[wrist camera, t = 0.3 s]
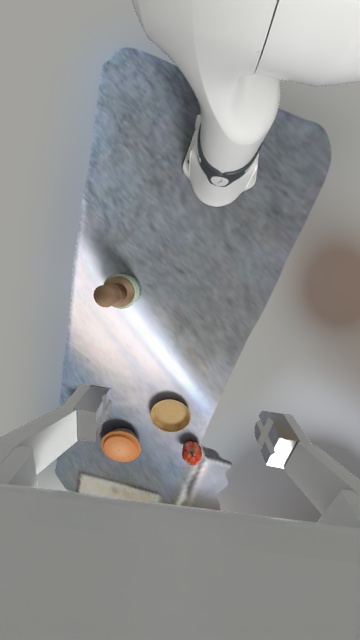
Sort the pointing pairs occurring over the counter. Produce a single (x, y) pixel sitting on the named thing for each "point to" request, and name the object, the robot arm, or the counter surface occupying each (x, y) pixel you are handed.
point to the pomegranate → (191, 452)
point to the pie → (121, 445)
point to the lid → (115, 292)
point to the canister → (135, 284)
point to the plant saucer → (170, 415)
